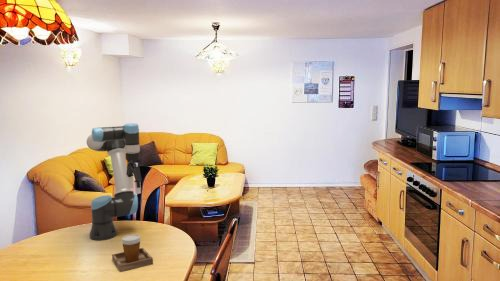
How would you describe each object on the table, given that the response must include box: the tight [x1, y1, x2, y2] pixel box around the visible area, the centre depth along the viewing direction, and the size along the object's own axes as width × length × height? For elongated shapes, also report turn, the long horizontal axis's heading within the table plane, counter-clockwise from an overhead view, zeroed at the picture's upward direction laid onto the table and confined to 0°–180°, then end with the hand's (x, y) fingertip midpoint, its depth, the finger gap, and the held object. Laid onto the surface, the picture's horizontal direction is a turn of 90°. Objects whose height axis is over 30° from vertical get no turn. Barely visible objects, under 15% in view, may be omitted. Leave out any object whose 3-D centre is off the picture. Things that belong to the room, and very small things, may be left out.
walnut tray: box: [111, 247, 154, 273], centre depth 204 cm, size 16×16×3 cm
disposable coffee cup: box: [120, 233, 142, 263], centre depth 204 cm, size 10×10×12 cm
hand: (134, 190), depth 220 cm, fingers open, 13 cm apart
